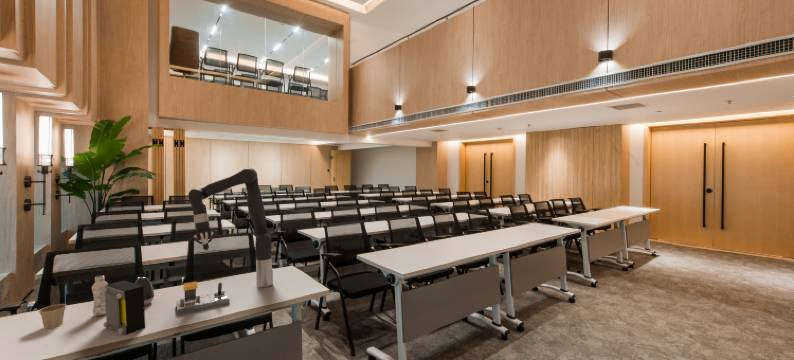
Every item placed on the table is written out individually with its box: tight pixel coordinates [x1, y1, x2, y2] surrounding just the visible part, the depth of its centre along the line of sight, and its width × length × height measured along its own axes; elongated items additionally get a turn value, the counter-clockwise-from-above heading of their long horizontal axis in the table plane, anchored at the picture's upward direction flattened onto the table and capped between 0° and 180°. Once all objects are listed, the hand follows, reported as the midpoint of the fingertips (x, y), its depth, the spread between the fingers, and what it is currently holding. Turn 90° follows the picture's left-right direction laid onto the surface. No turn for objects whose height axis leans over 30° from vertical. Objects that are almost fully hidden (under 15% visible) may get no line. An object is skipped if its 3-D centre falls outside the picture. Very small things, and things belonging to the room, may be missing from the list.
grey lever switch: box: [175, 282, 231, 316], centre depth 184 cm, size 24×14×12 cm, turn 125°
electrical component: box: [102, 280, 146, 336], centre depth 158 cm, size 18×10×20 cm, turn 62°
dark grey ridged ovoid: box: [134, 276, 155, 307], centre depth 185 cm, size 10×10×15 cm
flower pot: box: [38, 303, 67, 329], centre depth 161 cm, size 9×9×9 cm
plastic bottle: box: [91, 275, 109, 317], centre depth 172 cm, size 6×7×20 cm
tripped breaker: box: [182, 281, 198, 302], centre depth 178 cm, size 6×3×13 cm
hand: (206, 250), depth 202 cm, fingers closed
